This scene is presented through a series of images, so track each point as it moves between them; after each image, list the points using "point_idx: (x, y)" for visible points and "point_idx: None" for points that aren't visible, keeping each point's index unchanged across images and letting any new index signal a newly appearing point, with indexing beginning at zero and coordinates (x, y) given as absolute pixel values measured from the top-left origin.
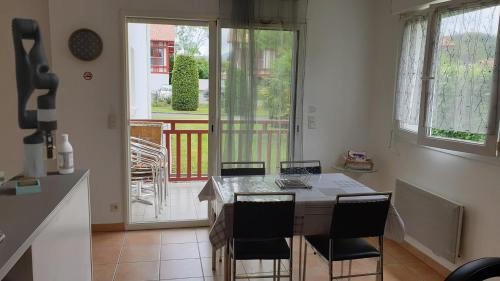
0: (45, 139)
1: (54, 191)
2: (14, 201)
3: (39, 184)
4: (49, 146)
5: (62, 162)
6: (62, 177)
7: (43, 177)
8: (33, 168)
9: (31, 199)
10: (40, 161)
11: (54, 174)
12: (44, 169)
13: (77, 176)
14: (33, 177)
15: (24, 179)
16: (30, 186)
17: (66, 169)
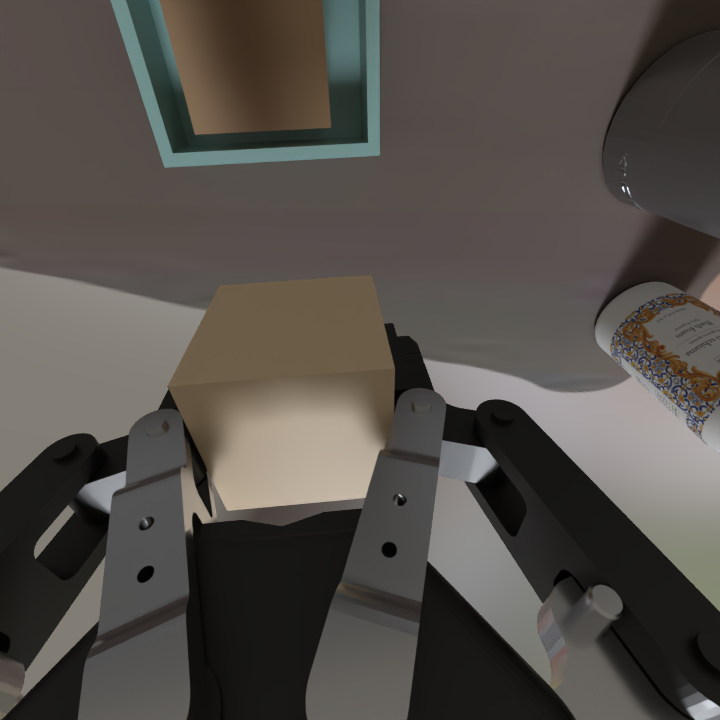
0: (109, 618)
1: (214, 245)
2: None
3: (195, 160)
4: (362, 453)
5: (665, 340)
6: (535, 293)
7: (606, 182)
8: (689, 115)
9: (7, 79)
10: (715, 199)
11: (646, 252)
12: (653, 207)
13: (504, 361)
14: (290, 112)
15: (222, 3)
16: (136, 75)
17: (614, 331)
